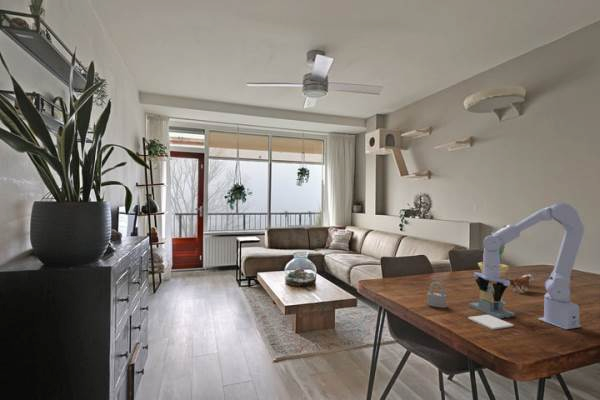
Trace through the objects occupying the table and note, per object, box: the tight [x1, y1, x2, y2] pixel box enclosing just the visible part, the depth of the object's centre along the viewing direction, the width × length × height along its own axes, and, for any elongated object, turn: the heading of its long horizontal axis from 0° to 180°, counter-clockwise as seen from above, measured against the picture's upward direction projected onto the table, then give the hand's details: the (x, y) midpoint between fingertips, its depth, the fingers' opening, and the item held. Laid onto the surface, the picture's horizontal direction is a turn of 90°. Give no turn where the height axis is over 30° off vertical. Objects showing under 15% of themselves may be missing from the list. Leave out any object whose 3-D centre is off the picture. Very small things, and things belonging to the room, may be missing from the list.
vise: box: [468, 290, 516, 319], centre depth 124 cm, size 14×12×8 cm
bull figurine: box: [512, 273, 535, 294], centre depth 153 cm, size 4×13×8 cm, turn 112°
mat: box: [468, 314, 514, 331], centre depth 111 cm, size 10×10×1 cm
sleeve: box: [479, 288, 503, 303], centre depth 123 cm, size 6×6×4 cm
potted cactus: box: [477, 244, 510, 278], centre depth 177 cm, size 15×15×25 cm
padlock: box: [426, 281, 447, 309], centre depth 128 cm, size 7×4×10 cm, turn 64°
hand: (490, 298), depth 123 cm, fingers closed on sleeve, 5 cm apart
